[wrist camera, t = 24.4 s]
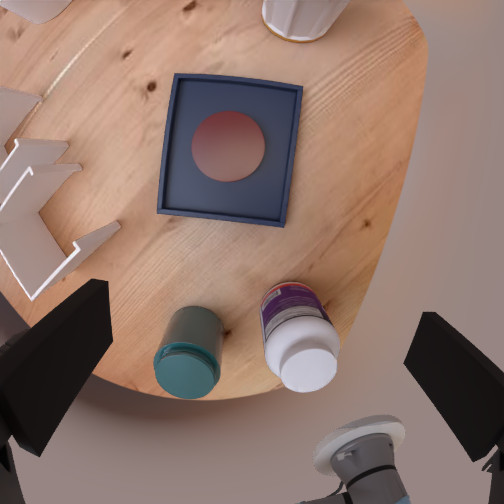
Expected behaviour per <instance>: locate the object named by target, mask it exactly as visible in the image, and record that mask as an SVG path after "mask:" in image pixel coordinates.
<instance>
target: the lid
mask: <svg viewBox="0 0 504 504" xmlns="http://www.w3.org/2000/svg"><path fill="white" fill-rule="evenodd" d="M191 150H192V156H193V159H194V161H195V163H196V165H197V167H198V168H199V169H200V170H201V172H203V173H204V174H205V175H206V176H208V177H209V178H211V179H214V180H216V181H221V182H234V181H239V180H242V179H244V178H246V177H247V176H249V175H250V174H252V173H253V172H254V171H255V170H256V169H257V168H258V166H259V165H260V163H261V161H262V159H263V156H264V152H265V140H264V136H263V133H262V131H261V129H260V127H259V126H258V124H257V123H256V122H255V121H254V120H253V119H251V118H250V117H249V116H247V115H245V114H243V113H240V112H235V111H222V112H218V113H215V114H213V115H211V116H209V117H207V118H206V119H205V120H204V121H202V123H201V124H200V125H199V126H198V127H197V129H196V131H195V133H194V135H193V139H192V145H191Z"/></svg>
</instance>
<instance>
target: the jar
mask: <svg viewBox="0 0 504 504" xmlns="http://www.w3.org/2000/svg"><path fill="white" fill-rule="evenodd" d="M223 342H224V327H223V324H222V322H221V321H220V319H219V318H218V317H217V316H216V315H215V314H214V313H213V312H211V311H210V310H208V309H205V308H202V307H197V306H190V307H185V308H182V309H180V310H178V311H177V312H176V313H175V314H174V315H173V316H172V318H171V319H170V322H169V324H168V326H167V329H166V331H165V333H164V336H163V338H162V340H161V343H160V345H159V347H158V350H157V352H156V354H155V357H154V361H153V365H154V370H155V376H156V379H157V381H158V383H159V385H160V386H161V387H162V388H163V389H164V390H165V391H167V392H168V393H170V394H171V395H173V396H176V397H179V398H183V399H197V398H201V397H203V396H205V395H207V394H208V393H209V392H210V391H211V390H212V389H213V388H214V386H215V385H216V384H217V382H218V381H219V378H220V374H221V363H222V353H223Z"/></svg>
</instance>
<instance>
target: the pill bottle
mask: <svg viewBox="0 0 504 504" xmlns="http://www.w3.org/2000/svg"><path fill="white" fill-rule="evenodd" d="M260 319H261V327H262V335H263V343H264V352H265V359H266V362H267V365H268V367H269V368H270V370H271V371H272V372H273V373H274V374H275V375H277V376H278V377H280V378H281V380H282V382H283V383H284V385H285V386H286V387H288V388H289V389H291V390H293V391H297V392H311V391H315V390H318V389H320V388H322V387H324V386H325V385H327V384H328V383H329V382H330V381H331V380H332V378H333V377H334V375H335V374H336V371H337V361H336V360H337V358H338V355H339V351H340V340H339V336H338V334H337V332H336V330H335V328H334V326H333V324H332V323H331V321H330V319H329V317H328V315H327V313H326V312H325V310H324V308H323V306H322V305H321V303H320V301H319V299H318V297H317V296H316V294H315V293H314V292H313V290H312V289H311V288H309V287H308V286H306V285H304V284H302V283H298V282H285V283H281V284H278V285H276V286H275V287H273V288H272V289H270V290H269V291H268V292H267V293H266V295H265V296H264V298H263V299H262V302H261V305H260Z"/></svg>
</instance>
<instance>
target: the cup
mask: <svg viewBox="0 0 504 504" xmlns="http://www.w3.org/2000/svg"><path fill="white" fill-rule="evenodd" d="M350 1H351V0H264V3H263V7H262V19H263V22H264V25H265V26H266V27H267V28H268V29H269V30H270V31H271V32H272V33H273V34H274V35H276V36H278V37H280V38H281V39H283V40H286V41H290V42H296V43H307V42H313V41H315V40H317V39H319V38H321V37H322V36H323V35H324V34H325V33H326V32H327V30H328V29H329V28H330V26H331V25H332V24H333V23H334V21H335V20H336V19H337V17H338V16H339V15H340V14H341V12H342V11H343V10H344V9H345V7H346V6H347V5H348V4H349V2H350Z"/></svg>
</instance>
